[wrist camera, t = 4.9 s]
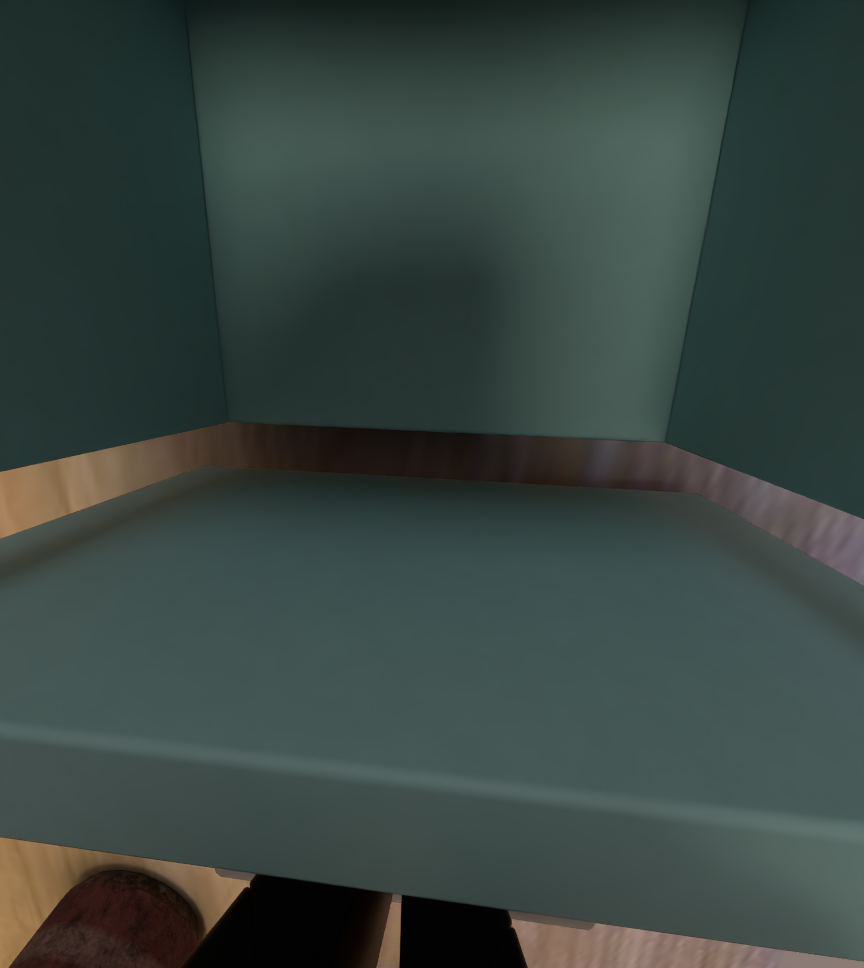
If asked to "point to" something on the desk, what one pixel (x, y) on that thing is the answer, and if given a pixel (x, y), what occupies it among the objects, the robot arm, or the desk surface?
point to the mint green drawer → (442, 408)
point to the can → (114, 926)
